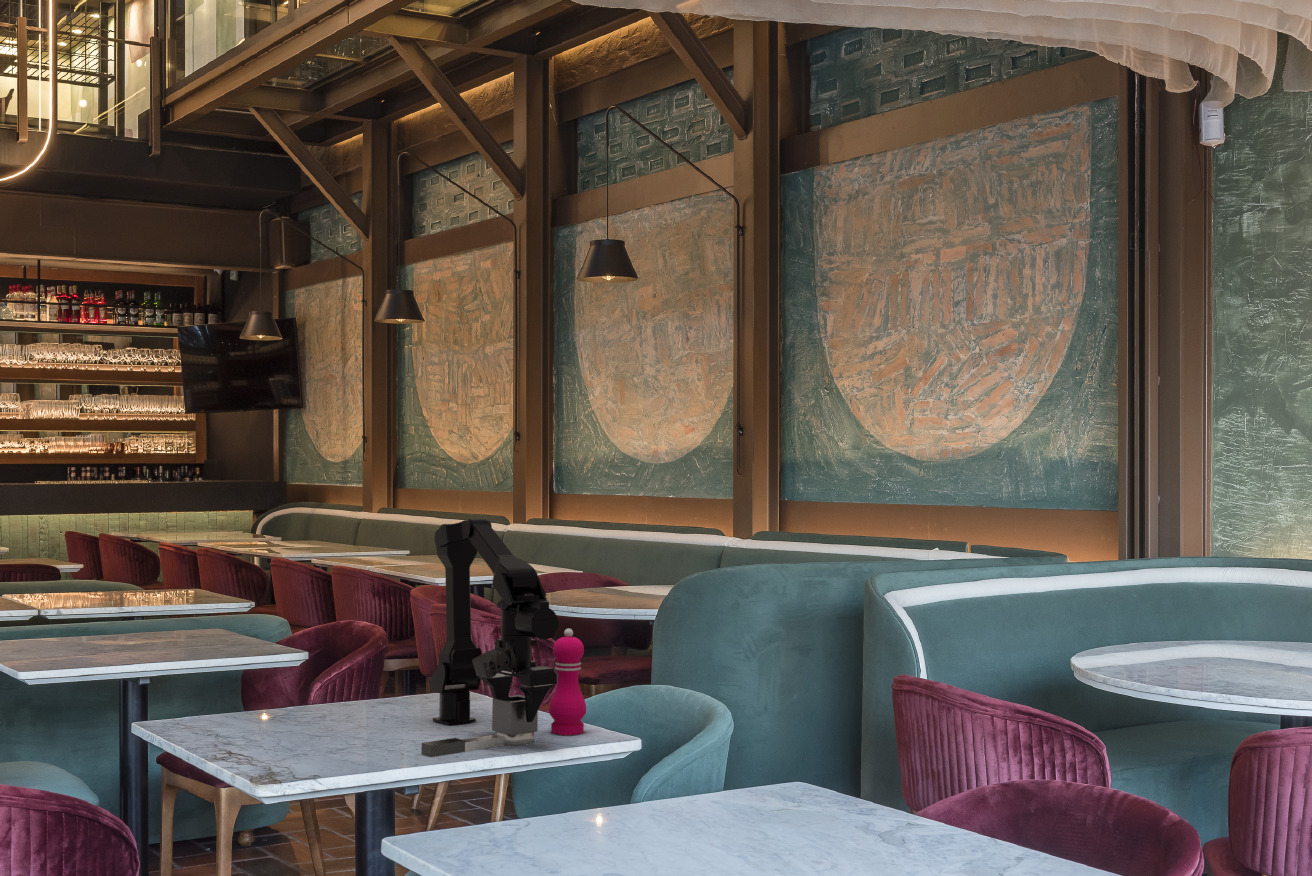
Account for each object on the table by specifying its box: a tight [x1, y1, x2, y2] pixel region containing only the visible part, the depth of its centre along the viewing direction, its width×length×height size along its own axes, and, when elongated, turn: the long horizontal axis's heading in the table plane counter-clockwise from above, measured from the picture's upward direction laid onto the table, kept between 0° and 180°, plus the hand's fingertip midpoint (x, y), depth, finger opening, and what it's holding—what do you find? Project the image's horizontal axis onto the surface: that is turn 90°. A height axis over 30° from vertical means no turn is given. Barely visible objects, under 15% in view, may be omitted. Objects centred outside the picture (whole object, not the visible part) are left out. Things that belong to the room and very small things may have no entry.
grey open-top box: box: [491, 694, 539, 736], centre depth 237 cm, size 6×6×6 cm
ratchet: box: [420, 732, 535, 758], centre depth 232 cm, size 7×22×5 cm, turn 131°
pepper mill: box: [548, 628, 587, 736], centre depth 246 cm, size 7×7×20 cm
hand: (515, 718), depth 237 cm, fingers open, 9 cm apart
